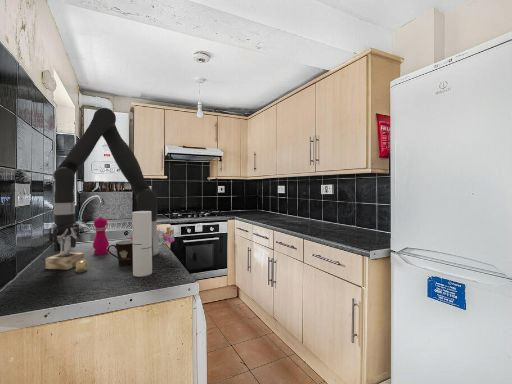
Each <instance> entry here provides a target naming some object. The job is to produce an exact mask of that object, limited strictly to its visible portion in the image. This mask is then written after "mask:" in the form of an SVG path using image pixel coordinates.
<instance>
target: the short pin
mask: <svg viewBox="0 0 512 384" xmlns="http://www.w3.org/2000/svg"><path fill="white" fill-rule="evenodd" d="M87 271H88V260H86V259H85V260H80V261H76V266H75V272H76V273H84V272H87Z"/></svg>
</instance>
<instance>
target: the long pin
mask: <svg viewBox="0 0 512 384" xmlns="http://www.w3.org/2000/svg"><path fill="white" fill-rule="evenodd" d="M60 243H61V251H60V252H59V254H60V257H69V256H71V252H72V248H71V238H69V237H64V238H63V239H62V240H61V242H60Z"/></svg>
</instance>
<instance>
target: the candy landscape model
mask: <svg viewBox="0 0 512 384" xmlns="http://www.w3.org/2000/svg"><path fill="white" fill-rule="evenodd" d="M174 230H175V229H171V226H167V227H166V231H164V230H163V229H161V228H158V227H157V235H158V236H159V246H162V245H167V244H171V243H174V242H175V239H176V238H175V232H174ZM130 240H133V235H132V236H130Z"/></svg>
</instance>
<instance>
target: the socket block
mask: <svg viewBox="0 0 512 384" xmlns="http://www.w3.org/2000/svg"><path fill="white" fill-rule="evenodd" d="M80 260H86V259H85V252H72V251H71V256H69V257H60V253H58V254H53V255H51V256H48V257H46V258H45V269H46V270H47V269H48V270H70V269H73V268H74V267H75V268H76V261H80Z"/></svg>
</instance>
